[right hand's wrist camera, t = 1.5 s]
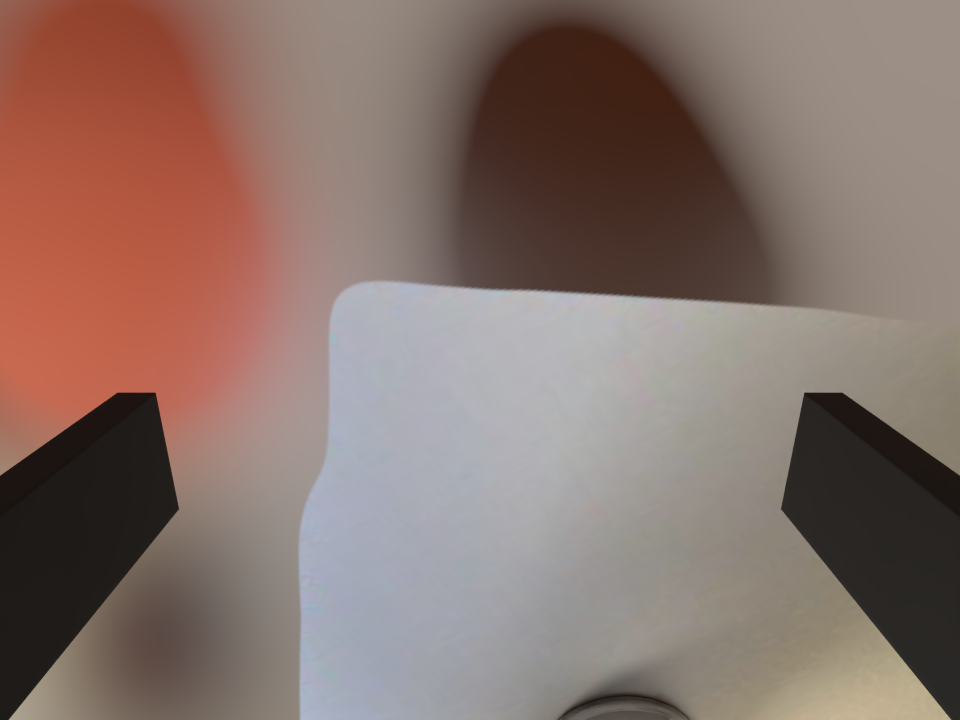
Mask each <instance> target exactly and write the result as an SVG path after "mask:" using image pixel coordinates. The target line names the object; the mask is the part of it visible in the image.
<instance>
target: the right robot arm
mask: <svg viewBox="0 0 960 720" xmlns="http://www.w3.org/2000/svg"><path fill="white" fill-rule="evenodd" d="M178 510H179V507H178V502H177V497H176V492H175V487H174V482H173V477H172V472H171V467H170V462H169V457H168V452H167V447H166V442H165V437H164V432H163V427H162V422H161V417H160V412H159V408H158V402H157V397H156V393H117V394H115V395H114V396H112V397H111V398H110V399H108V400H107V401H105V402H104V403H102V404H101V405H100V406H98V407H97V408H95V409H94V410H93V411H91V412H90V413H88V414H87V415H85V416H84V417H83V418H81V419H80V420H78V421H77V422H76V423H74V424H73V425H71V426H70V427H69V428H67V429H66V430H64V431H63V432H61V433H60V434H59V435H57V436H56V437H54V438H53V439H51V440H50V441H49V442H47V443H46V444H44V445H43V446H42V447H40V448H39V449H37V450H36V451H35V452H33V453H32V454H30V455H29V456H27V457H26V458H25V459H23V460H22V461H20V462H19V463H18V464H16V465H15V466H13V467H12V468H10V469H9V470H8V471H6V472H5V473H3V474H2V475H1V476H0V720H9V719H10V717H11V716H12V715H13V714H14V712H15V711H16V710H17V709H18V707H19V706H20V705H21V704H22V703H23V701H24V700H25V699H26V698H27V696H28V695H29V694H30V693H31V691H32V690H33V689H34V688H35V686H36V685H37V684H38V683H39V682H40V680H41V679H42V678H43V677H44V675H45V674H46V673H47V672H48V670H49V669H50V668H51V667H52V665H53V664H54V663H55V662H56V660H57V659H58V658H59V657H60V656H61V654H62V653H63V652H64V651H65V649H66V648H67V647H68V646H69V644H70V643H71V642H72V641H73V639H74V638H75V637H76V636H77V635H78V633H79V632H80V631H81V630H82V628H83V627H84V626H85V625H86V623H87V622H88V621H89V620H90V618H91V617H92V616H93V615H94V613H95V612H96V611H97V610H98V608H99V607H100V606H101V605H102V603H103V602H104V601H105V600H106V599H107V597H108V596H109V595H110V594H111V592H112V591H113V590H114V589H115V588H116V586H117V585H118V584H119V583H120V581H121V580H122V579H123V578H124V576H125V575H126V574H127V573H128V571H129V570H130V569H131V568H132V566H133V565H134V564H135V563H136V562H137V560H138V559H139V558H140V557H141V555H142V554H143V553H144V552H145V550H146V549H147V548H148V547H149V545H150V544H151V543H152V542H153V540H154V539H155V538H156V537H157V536H158V534H159V533H160V532H161V531H162V529H163V528H164V527H165V526H166V524H167V523H168V522H169V521H170V519H171V518H172V517H173V516H174V515H175V513H176V512H177V511H178ZM781 510H782V511H783V512H784V513H785V515H786V516H787V517H788V518H789V519H790V521H791V522H792V523H793V524H794V526H795V527H796V528H797V529H798V531H799V532H800V533H801V534H802V536H803V537H804V538H805V539H806V541H807V542H808V543H809V544H810V545H811V547H812V548H813V549H814V550H815V552H816V553H817V554H818V555H819V557H820V558H821V559H822V560H823V562H824V563H825V564H826V565H827V566H828V568H829V569H830V570H831V571H832V573H833V574H834V575H835V576H836V578H837V579H838V580H839V581H840V583H841V584H842V585H843V586H844V588H845V589H846V590H847V591H848V592H849V594H850V595H851V596H852V597H853V599H854V600H855V601H856V602H857V604H858V605H859V606H860V607H861V609H862V610H863V611H864V612H865V613H866V615H867V616H868V617H869V618H870V620H871V621H872V622H873V623H874V625H875V626H876V627H877V628H878V630H879V631H880V632H881V633H882V635H883V636H884V637H885V638H886V639H887V641H888V642H889V643H890V644H891V646H892V647H893V648H894V649H895V651H896V652H897V653H898V654H899V656H900V657H901V658H902V659H903V660H904V662H905V663H906V664H907V665H908V667H909V668H910V669H911V670H912V672H913V673H914V674H915V675H916V677H917V678H918V679H919V680H920V682H921V683H922V684H923V685H924V686H925V688H926V689H927V690H928V691H929V693H930V694H931V695H932V696H933V698H934V699H935V700H936V701H937V703H938V704H939V705H940V706H941V707H942V709H943V710H944V711H945V712H946V714H947V715H948V716H949V717H950V719H951V720H960V476H959V475H958V474H957V473H955V472H954V471H952V470H951V469H950V468H948V467H947V466H945V465H944V464H942V463H941V462H940V461H938V460H937V459H935V458H934V457H933V456H931V455H930V454H928V453H927V452H925V451H924V450H923V449H921V448H920V447H918V446H917V445H916V444H914V443H913V442H911V441H910V440H909V439H907V438H906V437H904V436H903V435H901V434H900V433H899V432H897V431H896V430H894V429H893V428H892V427H890V426H889V425H887V424H886V423H884V422H883V421H882V420H880V419H879V418H877V417H876V416H875V415H873V414H872V413H870V412H869V411H867V410H866V409H865V408H863V407H862V406H860V405H859V404H858V403H856V402H855V401H853V400H852V399H850V398H849V397H848V396H846V395H845V394H843V393H804V397H803V402H802V407H801V412H800V417H799V422H798V427H797V432H796V437H795V442H794V447H793V452H792V457H791V462H790V467H789V472H788V477H787V482H786V487H785V492H784V497H783V502H782V507H781ZM559 720H688V719H687V718H686V717H685V716H684V715H683V714H682V713H680V712H679V711H678V710H676V709H674V708H673V707H671V706H669V705H667V704H665V703H662V702H659V701H656V700H652V699H648V698H643V697H632V696H621V697H610V698H605V699H600V700H596V701H593V702H590V703H587V704H584V705H582V706H580V707H578V708H576V709H574V710H572V711H570V712H569V713H567V714H566V715H565V716H563V717H562V718H561V719H559Z"/></svg>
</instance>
